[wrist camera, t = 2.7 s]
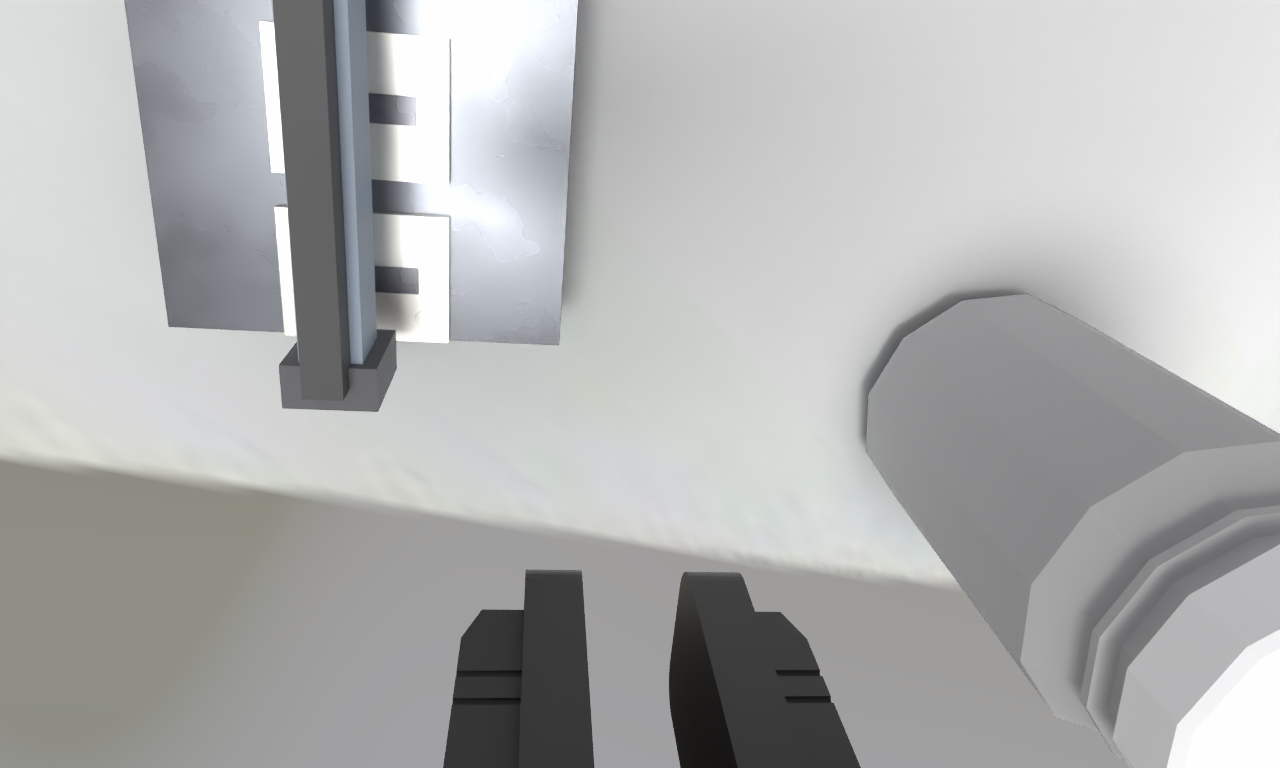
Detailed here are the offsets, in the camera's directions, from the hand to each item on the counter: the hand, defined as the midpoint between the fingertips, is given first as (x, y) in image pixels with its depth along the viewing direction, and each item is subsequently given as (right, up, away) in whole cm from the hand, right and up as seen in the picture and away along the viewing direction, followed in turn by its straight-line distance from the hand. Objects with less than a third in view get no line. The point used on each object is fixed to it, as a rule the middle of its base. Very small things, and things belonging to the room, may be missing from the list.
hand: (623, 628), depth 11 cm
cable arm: (-7, +11, +11) cm, 17 cm away
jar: (+14, +3, +24) cm, 27 cm away
